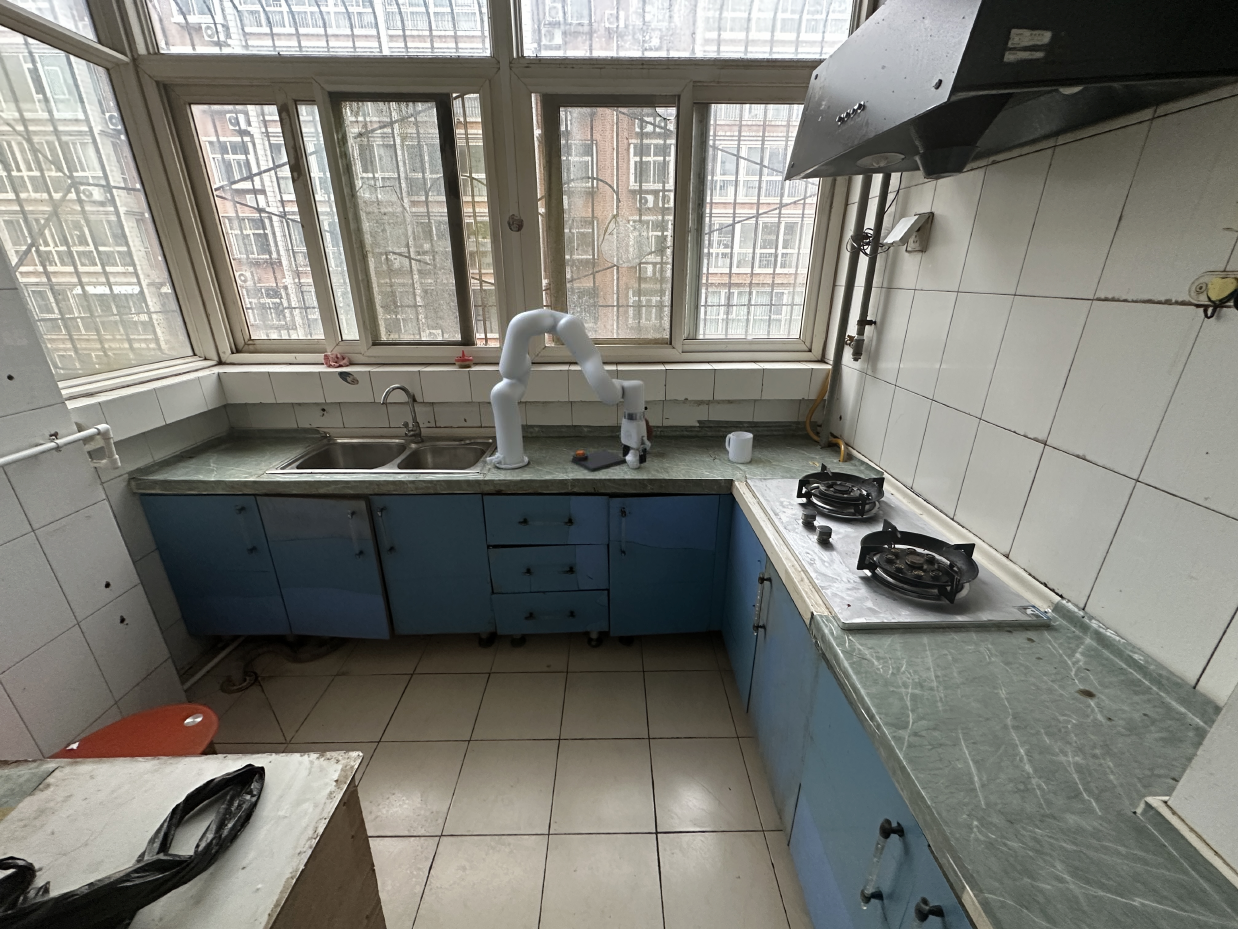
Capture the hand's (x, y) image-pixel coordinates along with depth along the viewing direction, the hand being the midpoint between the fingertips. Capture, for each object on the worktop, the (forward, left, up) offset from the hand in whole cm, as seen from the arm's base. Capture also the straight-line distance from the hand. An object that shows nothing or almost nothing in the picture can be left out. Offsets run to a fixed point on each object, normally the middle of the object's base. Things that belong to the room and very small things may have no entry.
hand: (634, 459), depth 186 cm
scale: (-7, +13, -3) cm, 15 cm away
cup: (+37, -18, -3) cm, 41 cm away
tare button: (-13, +18, 0) cm, 22 cm away
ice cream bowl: (+12, +11, -3) cm, 17 cm away
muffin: (0, 0, -3) cm, 3 cm away
